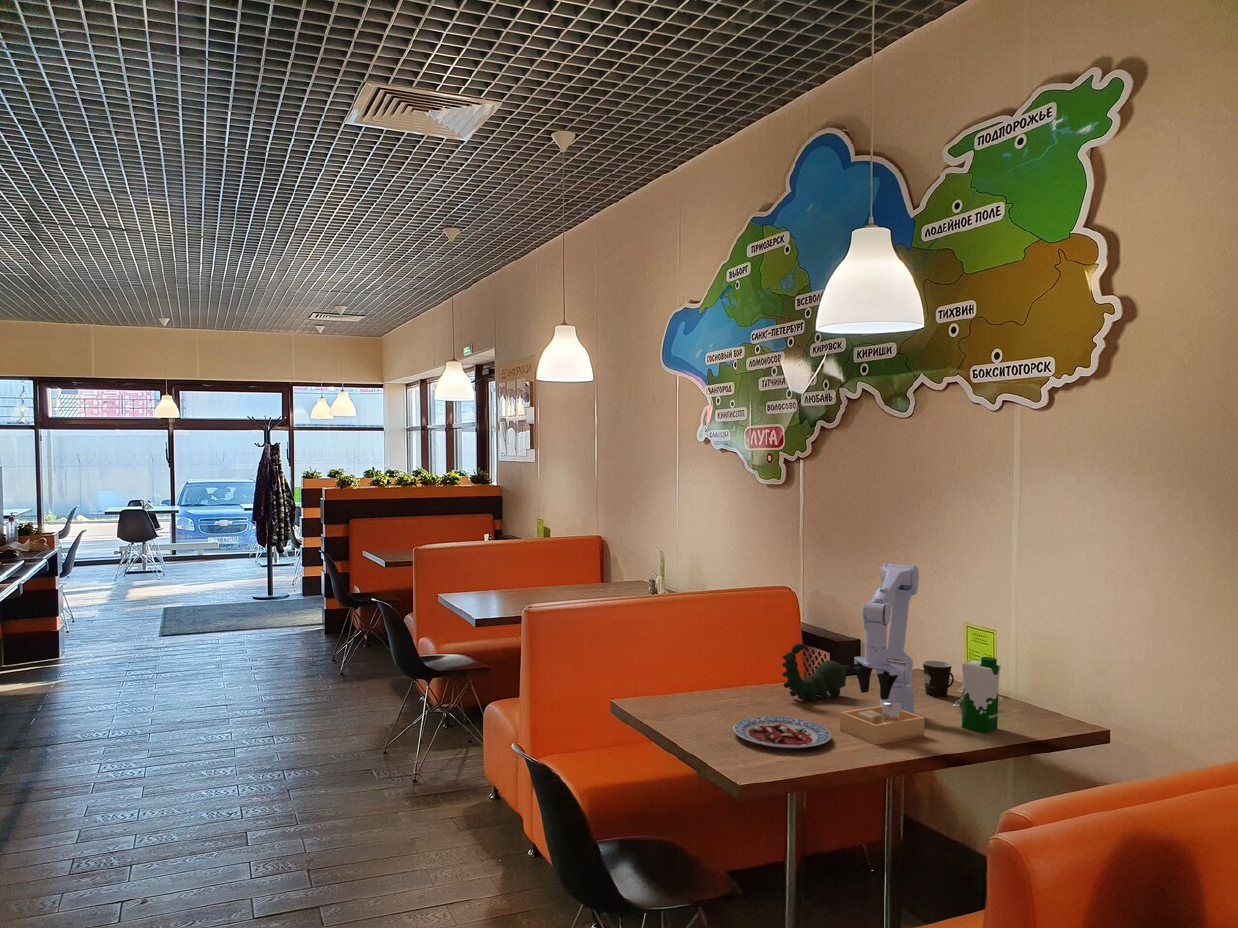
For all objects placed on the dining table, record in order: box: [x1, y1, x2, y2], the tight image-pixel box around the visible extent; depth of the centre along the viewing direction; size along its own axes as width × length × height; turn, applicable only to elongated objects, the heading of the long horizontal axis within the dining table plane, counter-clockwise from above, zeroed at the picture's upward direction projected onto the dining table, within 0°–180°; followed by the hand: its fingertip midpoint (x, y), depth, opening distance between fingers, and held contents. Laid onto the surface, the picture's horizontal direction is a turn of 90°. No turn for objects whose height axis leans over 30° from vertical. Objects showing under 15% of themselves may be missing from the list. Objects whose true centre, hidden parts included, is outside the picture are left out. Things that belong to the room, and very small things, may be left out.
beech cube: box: [857, 710, 884, 725], centre depth 246 cm, size 5×5×5 cm
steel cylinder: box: [882, 700, 901, 723], centre depth 250 cm, size 5×5×7 cm
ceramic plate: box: [732, 716, 832, 750], centre depth 242 cm, size 26×26×3 cm
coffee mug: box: [922, 660, 955, 698], centre depth 287 cm, size 12×9×10 cm
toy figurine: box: [781, 642, 851, 702], centre depth 282 cm, size 9×19×25 cm
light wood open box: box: [839, 705, 925, 746], centre depth 248 cm, size 18×14×5 cm
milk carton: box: [961, 656, 1001, 734], centre depth 254 cm, size 9×9×20 cm
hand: (874, 695), depth 249 cm, fingers open, 7 cm apart
